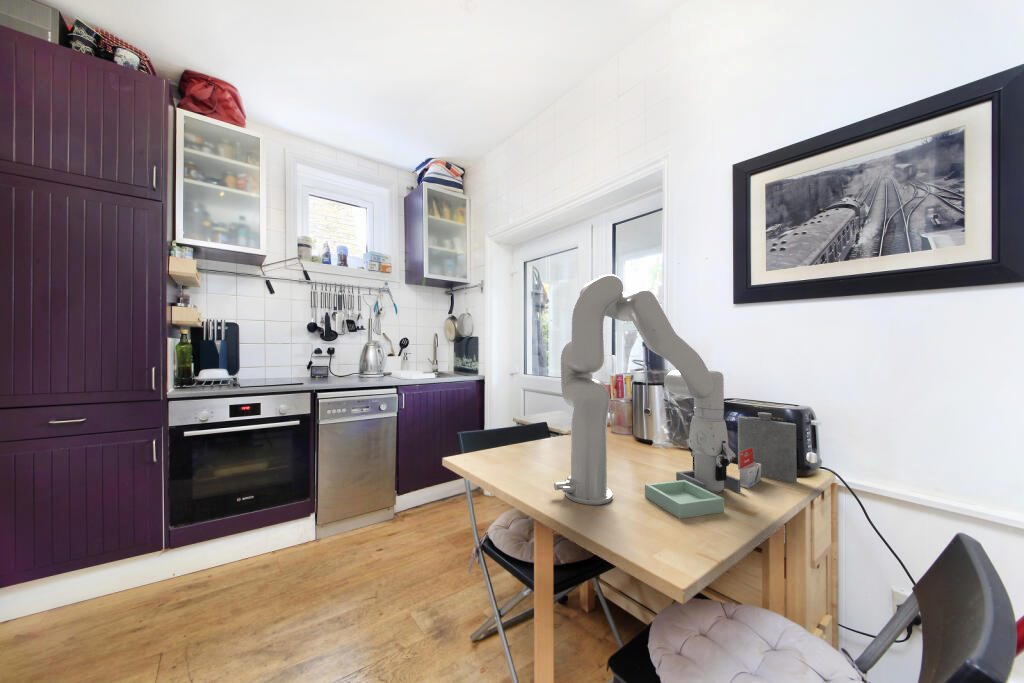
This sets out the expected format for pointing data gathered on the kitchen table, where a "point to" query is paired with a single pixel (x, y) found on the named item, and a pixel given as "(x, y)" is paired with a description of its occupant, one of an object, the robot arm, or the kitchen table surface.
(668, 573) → the kitchen table surface
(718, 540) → the kitchen table surface
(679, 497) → the tray
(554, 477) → the kitchen table surface
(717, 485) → the can
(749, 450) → the ink cartridge box
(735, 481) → the bay
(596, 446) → the robot arm
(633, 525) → the kitchen table surface
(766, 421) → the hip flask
